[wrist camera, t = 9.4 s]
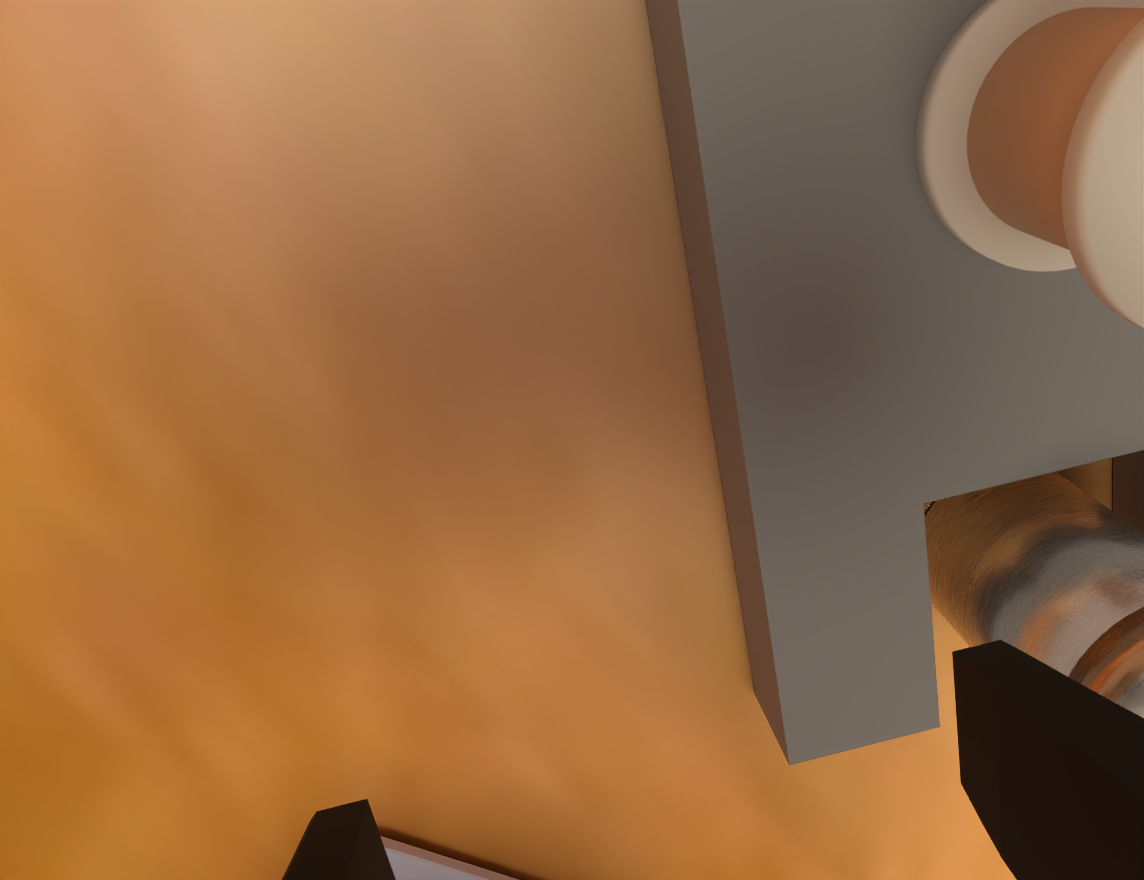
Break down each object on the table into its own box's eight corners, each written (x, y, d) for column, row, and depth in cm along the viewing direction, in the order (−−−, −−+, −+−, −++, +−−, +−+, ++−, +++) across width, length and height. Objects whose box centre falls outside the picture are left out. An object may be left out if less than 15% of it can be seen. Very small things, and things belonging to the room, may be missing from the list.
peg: (1014, 646, 25) (1224, 866, 19) (873, 586, 24) (1046, 801, 18) (1121, 498, 24) (1383, 680, 18) (979, 427, 23) (1206, 595, 16)
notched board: (1244, 571, 25) (1553, 785, 18) (755, 694, 25) (884, 961, 18) (1294, -196, 19) (1795, -307, 12) (637, -54, 18) (769, -84, 12)
